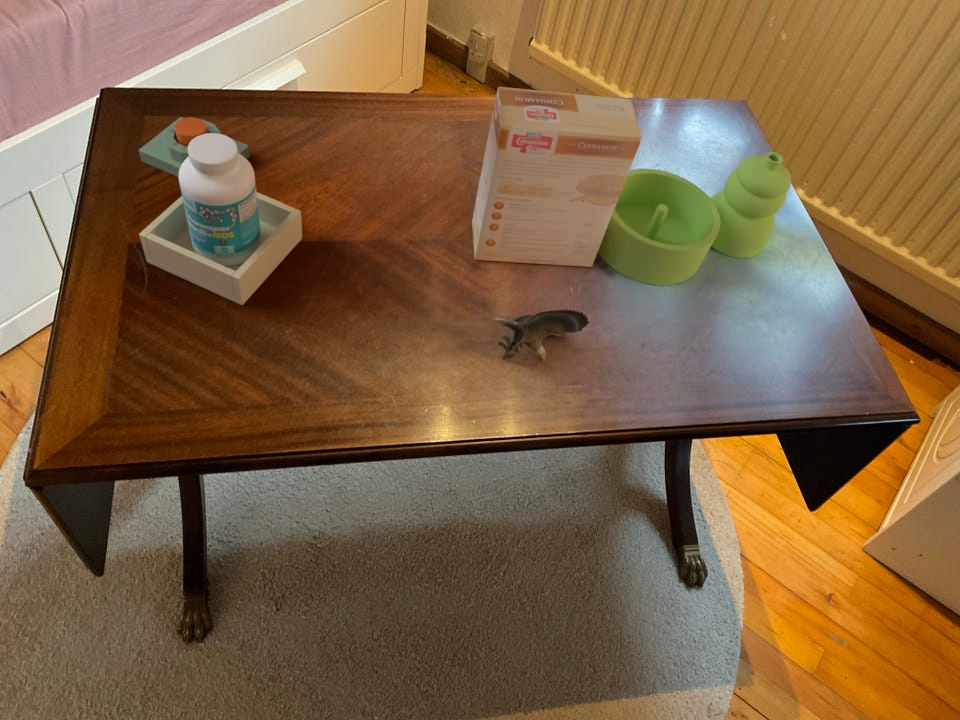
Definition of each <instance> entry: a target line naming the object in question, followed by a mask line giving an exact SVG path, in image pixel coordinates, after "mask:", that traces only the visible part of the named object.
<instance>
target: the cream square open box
mask: <svg viewBox="0 0 960 720" xmlns="http://www.w3.org/2000/svg"><path fill="white" fill-rule="evenodd" d="M256 192H257V202H258V212H259V222H260V232H261V244H260V247H259V248H258V249H257V250H256V251H255V252H254V253H253V254H252V255H251V256H250V257H249V258H248V259H247V260H246V261H245V262H243V263H240V264H237V265H231V266H223V265H221V264H218V263H216V262H214V261H212V260H210V259H207V258H205V257H203V256H201V255H198V254H197V253H196V252H195V250H194V248H193V245H192V241H191V237H190V232H189V227H188V222H187V217H186V213H185V208H184V203H183V198H182V195H181V196H180V197H178V199H176V200H175V201H174V202H173V203H172V204H171V205H170V206H168V207H167V208H166V209H165V210H164V211H163V212H162V213H161V214H160V215H159V216H157V217H156V218H155V219H154V220H152V222H151V223H150V224H148V225H147V226H146V227H145V228H144V229H142V231H141V232H140V233H138V236H139V240H140V242H141V243H140V244H141V246H142V250H143V253H144V257H145V260H146V263H148V264H150V265H152V266H154V267H157V268H159V269H161V270H163V271H165V272H168V273H170V274H172V275H174V276H176V277H179V278H181V279H183V280H185V281H188V282H189V283H192V284H194V285H197V286H198V287H201V288H203V289H205V290H207V291H209V292H212V293H214V294H216V295H218V296H221V297H223V298H225V299H227V300H229V301H232V302H234V303H236V304H238V305H239V306H243V305H244V304H245V303H246V302H247V301H248V300H249V299H250V298H251V296H253V294H254V293H255V292H256V291H257V290H258V289H259V287H260V286H261V285H263V283H264V282H265V281H266V280H267V279H268V278H269V276H270V275H271V274H272V273H273V272H274V271H275V269H276V268H277V267H278V266H279V265H280V264H281V263H282V262H283V261H284V259H285V258H286V257H287V256H288V255H289V254H290V253H291V252H292V250H294V248H295V247H296V246H297V245H298V244H299V243H300V242H301V241H302V239H303V223H302V211H301V210H299V209H297V208H295V207H293V206H290V205H288V204H286V203H284V202H282V201H279V200H276V199H274V198H271V197H269V196H267V195H265V194H263V193H260V192H258V191H256Z"/></svg>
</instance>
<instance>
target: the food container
mask: <svg viewBox="0 0 960 720" xmlns="http://www.w3.org/2000/svg"><path fill="white" fill-rule="evenodd" d="M783 162H784V158H783V156H782V155H781V154H780V153H778V152H775V151H768V152H766V154H765V155H759V154H758V155H757V154H756V155H749V156H748V157H746V158H744V159H742V160H741V161H739V162H738V163H739V164H738V165H737V167H736V169H735V170H734V171H732V172H731V173H730V174H729V175H728V177H727V178H726V180H725V183H724V188H723V190H721V191H718V192H717V193H715V194H714V195H713V196H712V197H710V196H709V195H708V194H707V193H706V192H705V191H704V190H703V189H702V188H701V187H699V186H698V185H696V184H695V183H693V182H691V181H690V180H689V179H686V178H684V177H682V176H680V175H678V174H675V173H672V172H668V171H666V170H660V169H656V168H636V169H630V170H629V172H628V175H627V177H626V180H625V183H624V185H623V188H622V191H621V193H620V196H619V198H618V201H617V204H616V206H615V209H614V211H613V214H612V216H611V219H610V221H609V224H608V226H607V229H606V232H605V234H604V237H603V240H602V242H601V245H600V247H599V250H598V253H597V254H598V255H599V256H600V257H601V258H602V260H603V261H604V262H605V263H606V265H608V266H610V267H611V269H613V270H615V271H616V272H617V273H619V274H620V275H622V276H624V277H626V278H628V279H631V280H633V281H636V282H639V283H641V284H647V285H652V286H672V285H678V284H680V283H683V282H685V281H688V280H689V279H690V278H692V277H693V276H694V275H695V274H696V273H697V272H698V270H699V268H700V266H701V265H702V263H703V261H704V259H705V258H706V256H707V254H708V252H709V250H710V249H711V248H712V249H713V250H715V251H717V252H719V253H721V254H723V255H725V256H729V257H731V258H737V259H749V258H753V257H756V256H758V255H759V254H761V253H762V252H763V250H764V249H765V247H766V246H767V244H768V243H769V241H770V239H771V238H772V236H773V233H774V230H775V224H776V216H775V214H777V213H778V212H779V211H780V210H781V209H782V208H783V206H784V204H785V201H786V198H787V192H788V191H789V189H790V188H791V185H792V179H791V173H790V172H789V170H788V169H787V167H785V165H783Z"/></svg>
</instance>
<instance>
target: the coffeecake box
mask: <svg viewBox="0 0 960 720" xmlns="http://www.w3.org/2000/svg"><path fill="white" fill-rule="evenodd" d="M635 112H636V110H635V108H634V105H633V101H632V99H631V98H622V97H614V96H613V97H610V96H602V95H601V96H600V95H589V94H580V93H570V92H569V93H568V92H558V91H546V90H538V89H526V88H515V87H506V86H498V87H497V90H496V93H495V98H494V104H493V109H492V114H491V119H490V125H489V130H488V135H487V140H486V145H485V151H484V156H483V159H482V160H483V162H482V167H481V171H480V172H481V173H480V176H479V182H478V187H477V193H476V198H475V204H474V208H473V215H472V220H471V227H472V240H473V241H472V242H473V243H472V244H473V257H474V261H489V262H503V263H504V262H505V263H521V264H537V265H553V266H567V267H585V268H592V267H593V265H594V262H595V260H596V257H597V256H598V254H599V253H598V250H599V247H600V245H601V242H602V240H603V237H604V234H605V232H606V229H607V226H608V224H609V221H610V219H611V216H612V214H613V211H614V209H615V206H616V204H617V201H618V198H619V196H620V193H621V191H622V188H623V185H624V183H625V180H626V177H627V175H628V172H629V171H630V170H631V167H632V164H633V162H634V159H635V156H636V154H637V152H638V149H639V146H640V144H641V141H642V139H643V136H642V133H641V129H640V126H639V123H638V121H637V118H636V114H635Z"/></svg>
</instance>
